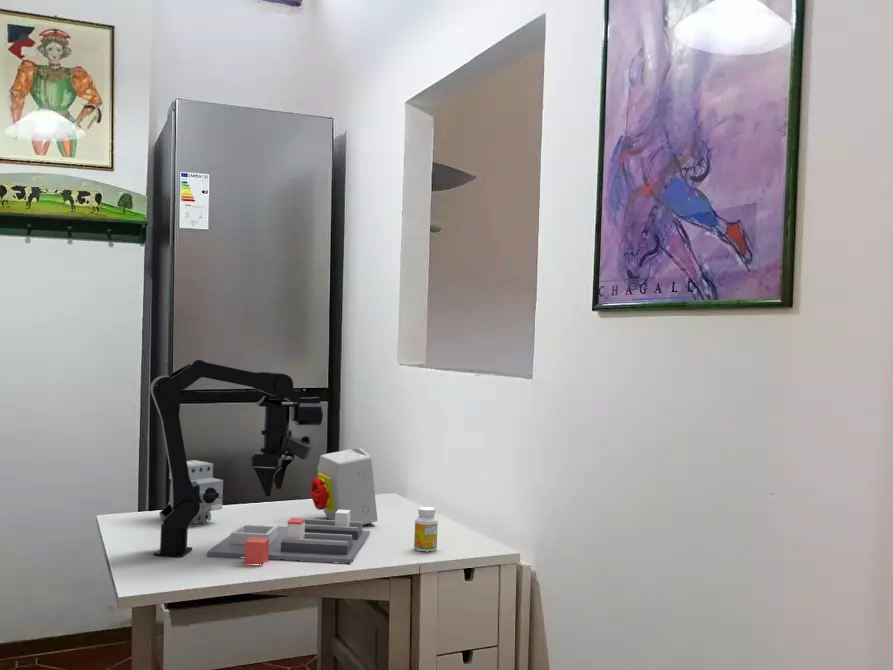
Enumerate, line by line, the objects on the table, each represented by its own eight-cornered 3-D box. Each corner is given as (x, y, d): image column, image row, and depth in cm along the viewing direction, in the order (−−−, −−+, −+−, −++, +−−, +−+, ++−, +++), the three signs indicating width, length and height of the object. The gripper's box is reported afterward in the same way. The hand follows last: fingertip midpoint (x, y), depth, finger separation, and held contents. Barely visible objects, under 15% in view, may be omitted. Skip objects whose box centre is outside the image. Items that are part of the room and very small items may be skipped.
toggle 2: (346, 529, 195) (347, 513, 195) (334, 528, 196) (335, 512, 196) (349, 525, 199) (350, 510, 199) (337, 524, 200) (338, 509, 200)
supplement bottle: (410, 547, 193) (412, 506, 193) (432, 545, 195) (433, 505, 195) (418, 552, 188) (419, 511, 188) (439, 551, 190) (441, 510, 190)
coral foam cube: (263, 566, 172) (264, 542, 172) (244, 565, 172) (245, 541, 172) (268, 561, 176) (269, 538, 176) (250, 560, 176) (251, 537, 176)
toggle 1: (300, 541, 182) (301, 522, 182) (286, 540, 182) (287, 521, 182) (304, 537, 186) (305, 518, 186) (291, 536, 186) (292, 517, 186)
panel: (350, 564, 176) (351, 546, 176) (207, 556, 178) (207, 538, 178) (369, 535, 203) (370, 519, 203) (244, 528, 205) (245, 513, 205)
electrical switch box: (306, 526, 219) (299, 453, 218) (358, 514, 226) (350, 444, 225) (324, 539, 206) (316, 462, 205) (378, 526, 213) (370, 451, 212)
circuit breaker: (200, 529, 202) (203, 469, 203) (167, 520, 211) (169, 462, 211) (225, 524, 208) (227, 466, 209) (192, 515, 217) (194, 459, 217)
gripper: (301, 431, 179) (298, 502, 179) (319, 423, 198) (316, 487, 198) (251, 429, 180) (248, 499, 180) (274, 421, 199) (271, 485, 198)
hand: (273, 492), depth 189 cm, fingers open, 9 cm apart
